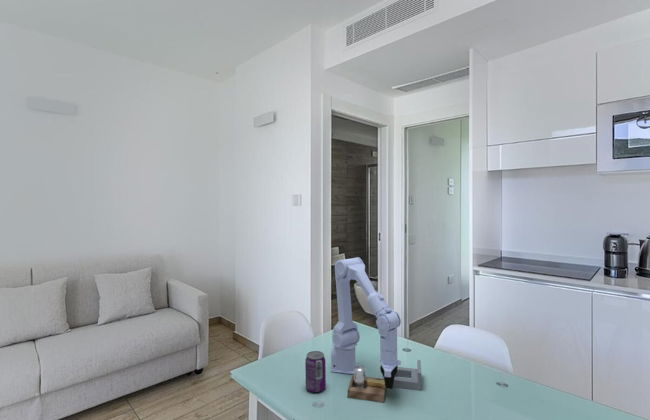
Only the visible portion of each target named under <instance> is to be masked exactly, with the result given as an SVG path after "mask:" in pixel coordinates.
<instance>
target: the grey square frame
mask: <svg viewBox="0 0 650 420" xmlns="http://www.w3.org/2000/svg"><path fill="white" fill-rule="evenodd" d="M416 364H417V366H416V367H417V368H412V367H411V368H410V367H403V366H402V367H401V366H398V368H397V373H396V375H395V378H394V383H393V388H399V389H405V390H406V389H407V390H414V391H423V390H422V388H423V387H422V385H423V384H422V383H423V381H422V378H423V377H422V362H421V359H417V360H416Z"/></svg>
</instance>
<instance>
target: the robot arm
mask: <svg viewBox="0 0 650 420" xmlns="http://www.w3.org/2000/svg"><path fill="white" fill-rule="evenodd" d="M334 276H335V277H334V278H335V279H334V280H335V287H336V288H335V289H336V300H337V302H336V303H337V316H338V322H337V323H336V324H335V325H334V326H333V329H332V330H333V333H332V338H331V339H332V343H333V345H332V346H331V352H330V372H331V373H338V374H339V373H340V374H348V375H354V367H355V366H357V365H359V364H358V363H357V361H356V359H357V358H356V346H357V345H358V342H360V340H361V339H360V338H361V336H360V335H361V334H360V332H359V329H358V324H357V323H356V322H354V321H353V311H352V299H351V298H352V297H351V284H350V281H351V280H353V281H356V282H357V284H358V286H359V287H360V289H362V291H363V292H364V294H365V295H366V296H367V299H366V302H367V305H368V306H369V307H370V309H371V311H372V312H373V314H374V316H375V318H376V320H375V325H376V327H377V328H378V334H379V342H380V343H379V348H380V350H379V351H380V354H379V355H380V356H379V357H380V359H379V364H380V368H379V369H380V373H381V375H382V377H383V379H384V381H385V386H386V389H388V390H389V389H391V390H393V388H394V387H393V383H394V378H395V375H396V373H397V368H398V367H399V366H401V365H402V360H399V359H398V328H399V327H400V326H401V323H402V322H401V321H402V320H401V316H400V315H399V313H398V312H397V311H396V310H394V309H393V308H391V307H390V306H389V304H388V302H387V301H386V299H385V298H384V296H383V295H382V293H380V292H377V291H376V290H375V287H374V286H373V283H372V282H371V280H370V278H369V276H368V274H367V273H366V265H365V263H364V261H363V260H362V259H361V257H359V256H357V257H353V258H345V259H339V260H337V261H336V262H335V264H334Z"/></svg>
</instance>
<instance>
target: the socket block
mask: <svg viewBox="0 0 650 420" xmlns="http://www.w3.org/2000/svg"><path fill="white" fill-rule="evenodd" d="M351 375H352V376H351V379H350V382H349V385H348V386H347V387H348V388H347V398H349V399H356V400H362V401H363V400H364V401H369V402H378V403H384V402H385V396H386V389H387V388H386V386H385V388H381V387H377V386H369V385H367V379H374V380H384V378H378V377H372V376H366V389H364V388H356V387H354V374H351Z"/></svg>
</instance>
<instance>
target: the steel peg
mask: <svg viewBox="0 0 650 420" xmlns="http://www.w3.org/2000/svg"><path fill="white" fill-rule="evenodd" d="M353 375H354V387H356V388H364V389H367V387H366V377H367V376H366V375H367V368H366V366H365V365H361V364H358V365H357V366H355V367H354V374H353Z"/></svg>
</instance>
